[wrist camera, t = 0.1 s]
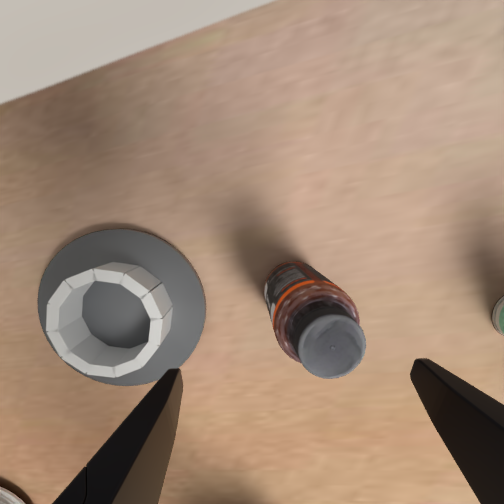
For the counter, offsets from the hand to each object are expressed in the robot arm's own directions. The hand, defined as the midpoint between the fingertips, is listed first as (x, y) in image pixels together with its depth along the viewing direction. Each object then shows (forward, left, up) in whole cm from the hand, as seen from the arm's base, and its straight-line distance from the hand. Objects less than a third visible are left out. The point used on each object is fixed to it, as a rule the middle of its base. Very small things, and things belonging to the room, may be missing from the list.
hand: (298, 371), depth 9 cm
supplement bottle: (+1, -3, -16) cm, 16 cm away
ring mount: (-11, +9, -15) cm, 21 cm away
